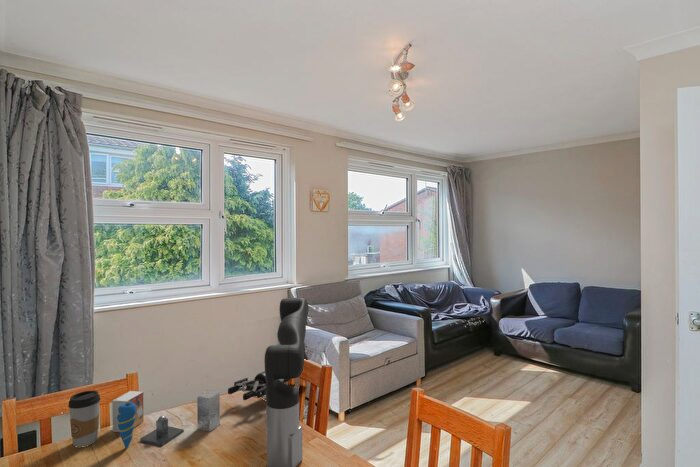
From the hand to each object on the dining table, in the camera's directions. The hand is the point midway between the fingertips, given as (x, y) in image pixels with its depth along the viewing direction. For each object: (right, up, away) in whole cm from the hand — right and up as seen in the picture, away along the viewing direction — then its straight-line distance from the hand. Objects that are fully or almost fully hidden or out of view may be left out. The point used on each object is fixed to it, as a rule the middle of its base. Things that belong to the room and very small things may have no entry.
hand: (235, 394), depth 140 cm
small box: (-34, -8, -8) cm, 36 cm away
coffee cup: (-42, -8, -18) cm, 46 cm away
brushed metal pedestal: (-6, -7, -9) cm, 13 cm away
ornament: (-27, -8, -21) cm, 35 cm away
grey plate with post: (-19, -8, -15) cm, 26 cm away
